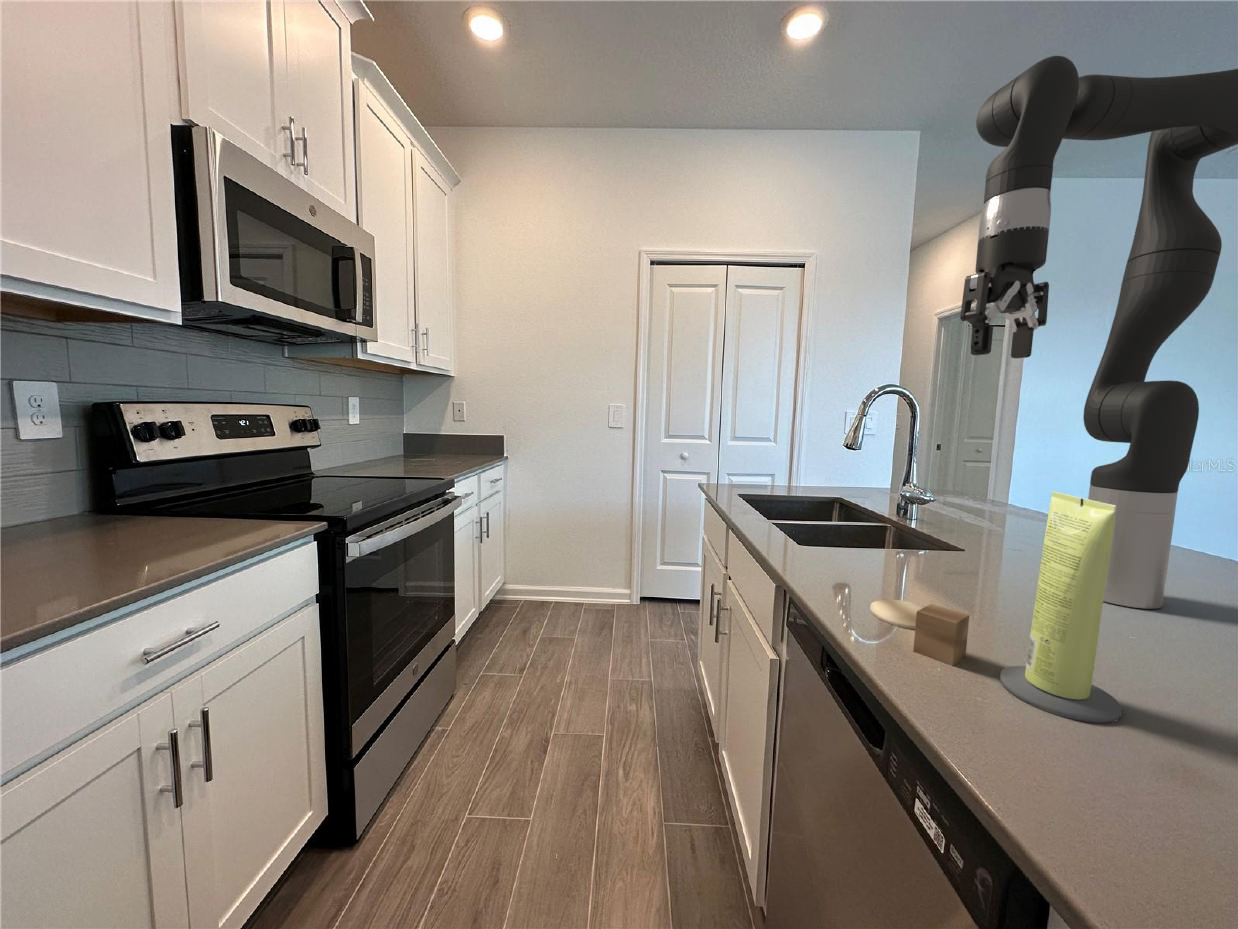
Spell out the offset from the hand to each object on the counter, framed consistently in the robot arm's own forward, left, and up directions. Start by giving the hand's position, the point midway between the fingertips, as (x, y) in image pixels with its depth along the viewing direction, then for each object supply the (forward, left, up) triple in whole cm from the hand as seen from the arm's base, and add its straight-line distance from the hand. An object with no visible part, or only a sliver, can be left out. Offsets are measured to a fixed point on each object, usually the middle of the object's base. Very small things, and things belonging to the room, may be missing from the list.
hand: (1000, 356), depth 67 cm
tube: (+16, +18, -36) cm, 43 cm away
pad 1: (+13, -1, -36) cm, 38 cm away
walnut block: (+19, +8, -36) cm, 42 cm away
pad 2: (+16, +18, -36) cm, 43 cm away
